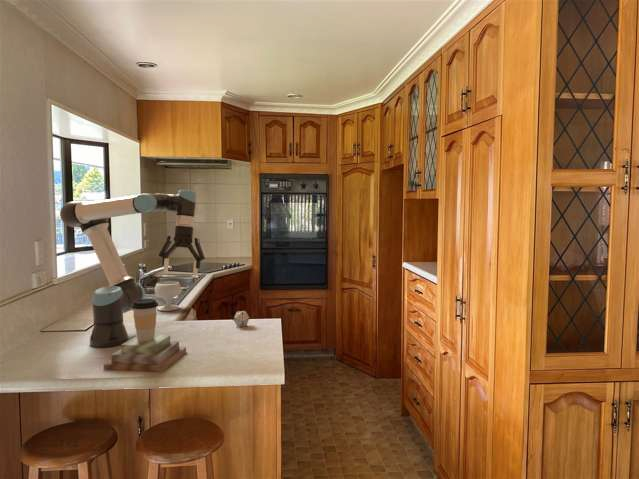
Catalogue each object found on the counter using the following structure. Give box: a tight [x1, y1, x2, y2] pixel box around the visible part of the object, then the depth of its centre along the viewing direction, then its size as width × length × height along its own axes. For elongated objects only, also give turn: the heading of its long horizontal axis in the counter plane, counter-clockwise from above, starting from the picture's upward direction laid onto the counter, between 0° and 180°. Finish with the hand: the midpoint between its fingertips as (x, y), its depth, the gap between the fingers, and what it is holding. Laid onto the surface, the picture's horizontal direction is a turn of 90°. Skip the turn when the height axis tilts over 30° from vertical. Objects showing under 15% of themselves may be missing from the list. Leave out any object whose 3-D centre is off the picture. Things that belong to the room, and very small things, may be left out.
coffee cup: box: [132, 298, 159, 342], centre depth 177 cm, size 9×9×15 cm
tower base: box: [103, 334, 187, 373], centre depth 177 cm, size 22×22×8 cm
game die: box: [232, 309, 252, 328], centre depth 224 cm, size 9×8×10 cm
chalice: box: [154, 280, 182, 312], centre depth 260 cm, size 14×14×15 cm
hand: (180, 274), depth 201 cm, fingers open, 13 cm apart
